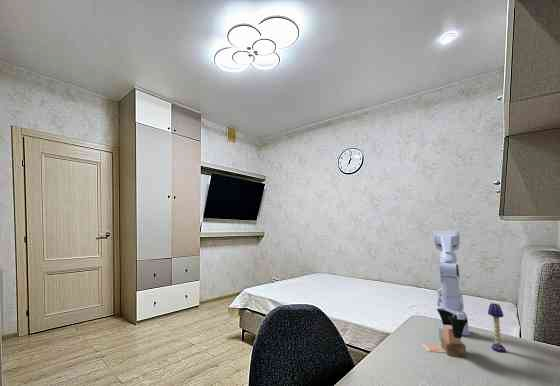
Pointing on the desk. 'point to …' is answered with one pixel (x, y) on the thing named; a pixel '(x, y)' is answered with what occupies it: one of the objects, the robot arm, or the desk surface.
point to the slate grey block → (441, 333)
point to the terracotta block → (450, 335)
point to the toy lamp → (496, 326)
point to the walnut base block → (453, 348)
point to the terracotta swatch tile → (433, 348)
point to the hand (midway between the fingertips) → (452, 333)
